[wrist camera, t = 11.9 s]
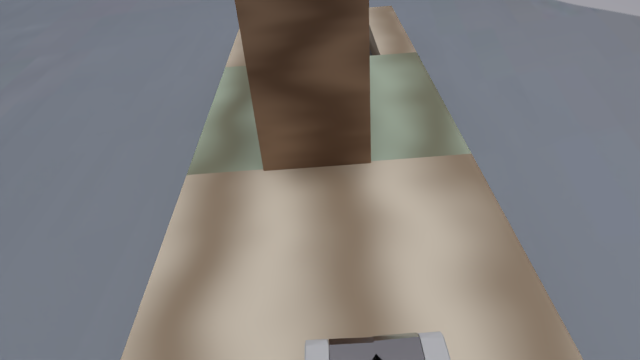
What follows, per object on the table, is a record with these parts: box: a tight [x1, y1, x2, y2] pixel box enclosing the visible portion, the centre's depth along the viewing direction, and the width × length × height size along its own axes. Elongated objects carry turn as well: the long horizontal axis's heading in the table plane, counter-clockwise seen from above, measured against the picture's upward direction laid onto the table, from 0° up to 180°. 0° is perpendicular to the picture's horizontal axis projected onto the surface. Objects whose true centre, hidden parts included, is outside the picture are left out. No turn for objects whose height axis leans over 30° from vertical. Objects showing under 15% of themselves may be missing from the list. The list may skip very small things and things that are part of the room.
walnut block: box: [235, 0, 371, 171], centre depth 29 cm, size 6×14×12 cm, turn 2°
